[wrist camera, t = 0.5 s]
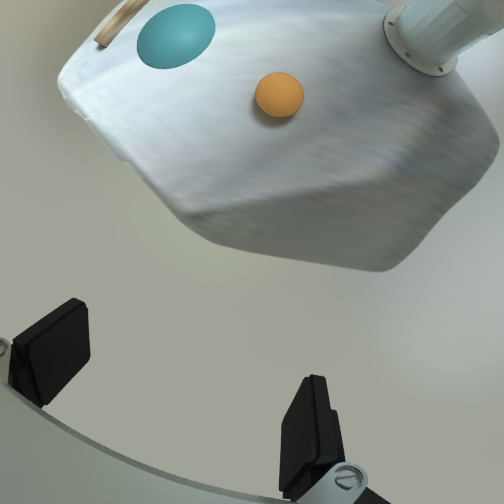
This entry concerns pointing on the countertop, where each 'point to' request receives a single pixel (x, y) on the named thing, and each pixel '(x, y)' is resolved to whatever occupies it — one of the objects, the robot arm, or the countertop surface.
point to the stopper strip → (119, 21)
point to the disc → (175, 36)
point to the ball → (279, 94)
